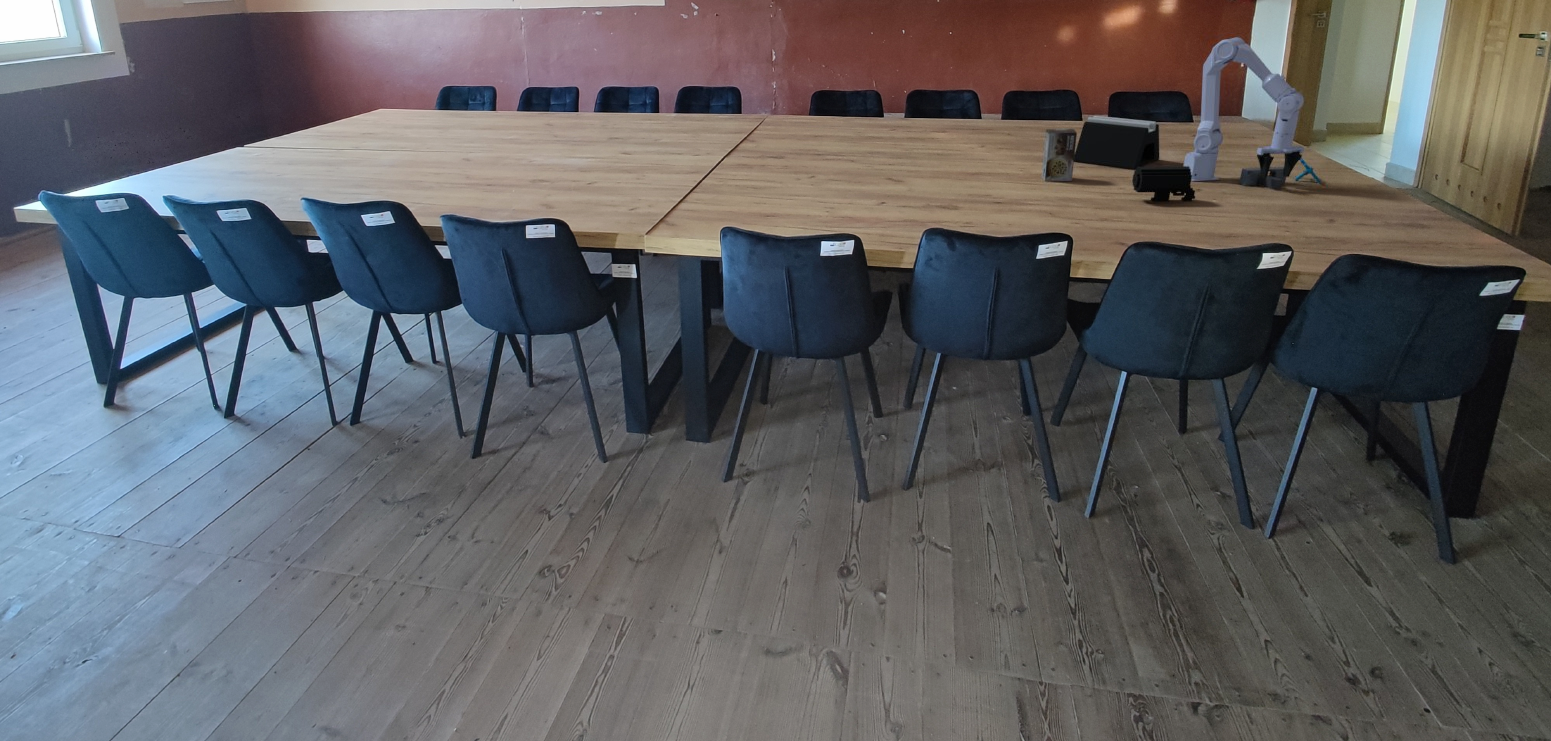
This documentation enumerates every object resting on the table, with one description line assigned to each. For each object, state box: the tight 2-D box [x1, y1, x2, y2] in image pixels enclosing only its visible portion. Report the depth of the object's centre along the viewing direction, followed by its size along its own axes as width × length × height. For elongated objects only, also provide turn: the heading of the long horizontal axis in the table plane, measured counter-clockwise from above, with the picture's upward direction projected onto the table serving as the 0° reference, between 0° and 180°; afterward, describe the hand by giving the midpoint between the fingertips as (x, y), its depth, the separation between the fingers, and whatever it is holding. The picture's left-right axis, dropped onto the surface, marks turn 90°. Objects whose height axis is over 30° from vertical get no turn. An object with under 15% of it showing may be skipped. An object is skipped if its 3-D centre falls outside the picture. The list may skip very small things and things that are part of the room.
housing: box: [1238, 166, 1287, 187], centre depth 294 cm, size 14×3×5 cm, turn 98°
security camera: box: [1132, 165, 1196, 203], centre depth 275 cm, size 7×18×10 cm, turn 89°
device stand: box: [1074, 115, 1160, 171], centre depth 328 cm, size 22×22×15 cm
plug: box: [1256, 172, 1282, 191], centre depth 294 cm, size 15×4×4 cm, turn 8°
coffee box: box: [1041, 128, 1078, 182], centre depth 303 cm, size 9×6×16 cm
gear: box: [1294, 157, 1321, 183], centre depth 297 cm, size 11×6×10 cm
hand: (1274, 176), depth 289 cm, fingers open, 7 cm apart
